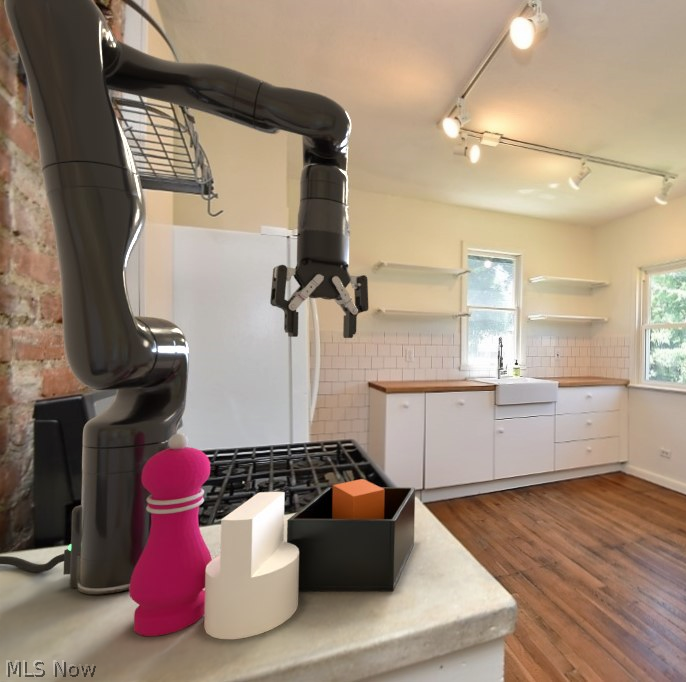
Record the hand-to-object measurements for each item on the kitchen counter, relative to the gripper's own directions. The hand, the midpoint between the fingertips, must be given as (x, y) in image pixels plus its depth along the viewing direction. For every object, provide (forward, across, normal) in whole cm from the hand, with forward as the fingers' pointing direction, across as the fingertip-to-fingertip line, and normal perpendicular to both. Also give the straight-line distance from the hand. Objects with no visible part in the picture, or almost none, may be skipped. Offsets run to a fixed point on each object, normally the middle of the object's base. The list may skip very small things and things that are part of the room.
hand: (321, 337), depth 70 cm
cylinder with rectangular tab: (+31, +13, +15) cm, 37 cm away
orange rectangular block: (+30, 0, +13) cm, 33 cm away
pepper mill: (+31, +20, +10) cm, 38 cm away
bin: (+31, 0, +13) cm, 34 cm away
